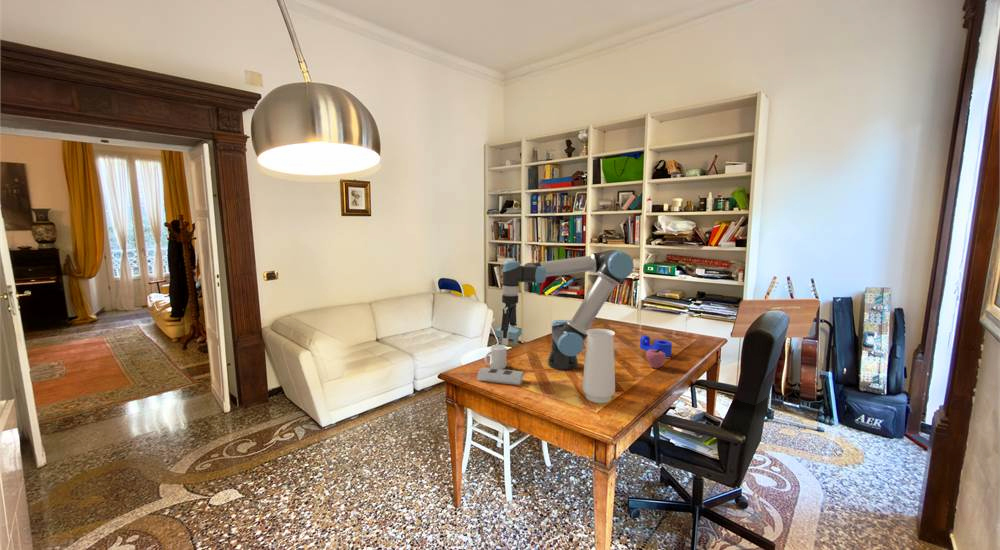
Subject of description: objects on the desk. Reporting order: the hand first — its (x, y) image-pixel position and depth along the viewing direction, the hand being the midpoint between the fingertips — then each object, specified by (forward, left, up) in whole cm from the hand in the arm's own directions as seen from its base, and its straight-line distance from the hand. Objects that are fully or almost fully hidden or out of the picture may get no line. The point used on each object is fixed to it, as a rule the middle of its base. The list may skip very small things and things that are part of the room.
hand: (508, 341), depth 187 cm
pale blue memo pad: (0, 0, 0) cm, 0 cm away
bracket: (-70, -55, -17) cm, 90 cm away
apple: (-68, -30, -17) cm, 76 cm away
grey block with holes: (+2, +7, -16) cm, 18 cm away
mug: (+9, -8, -17) cm, 20 cm away
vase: (-42, +14, -17) cm, 47 cm away
